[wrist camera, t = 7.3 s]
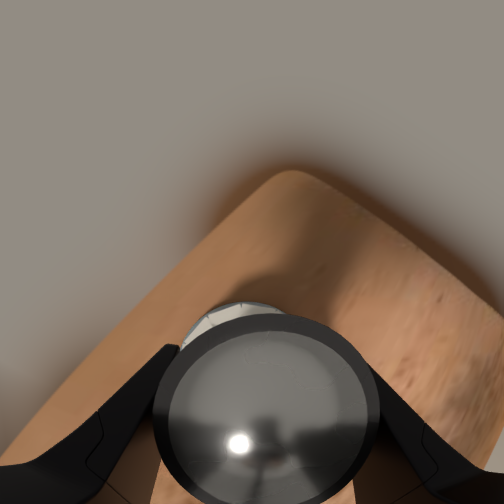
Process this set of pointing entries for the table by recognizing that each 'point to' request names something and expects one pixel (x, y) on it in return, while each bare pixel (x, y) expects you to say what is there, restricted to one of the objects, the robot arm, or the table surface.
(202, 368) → the lens
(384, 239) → the table surface
